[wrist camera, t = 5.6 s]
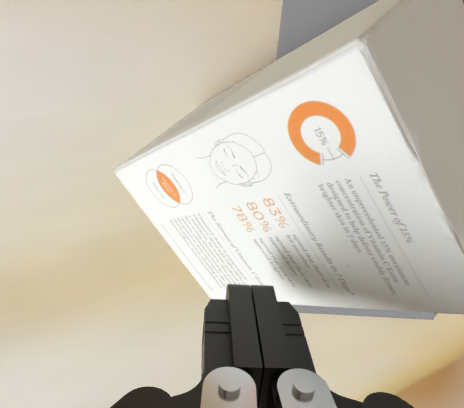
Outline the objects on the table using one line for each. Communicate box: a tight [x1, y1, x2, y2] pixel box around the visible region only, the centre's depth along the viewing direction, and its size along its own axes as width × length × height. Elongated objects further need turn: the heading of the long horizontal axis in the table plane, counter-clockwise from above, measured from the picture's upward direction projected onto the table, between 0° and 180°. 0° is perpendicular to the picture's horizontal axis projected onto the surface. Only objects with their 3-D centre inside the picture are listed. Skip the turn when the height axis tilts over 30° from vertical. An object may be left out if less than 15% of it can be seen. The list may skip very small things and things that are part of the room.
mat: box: [276, 0, 464, 320], centre depth 24 cm, size 19×12×1 cm, turn 175°
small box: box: [115, 0, 464, 314], centre depth 17 cm, size 8×6×13 cm
